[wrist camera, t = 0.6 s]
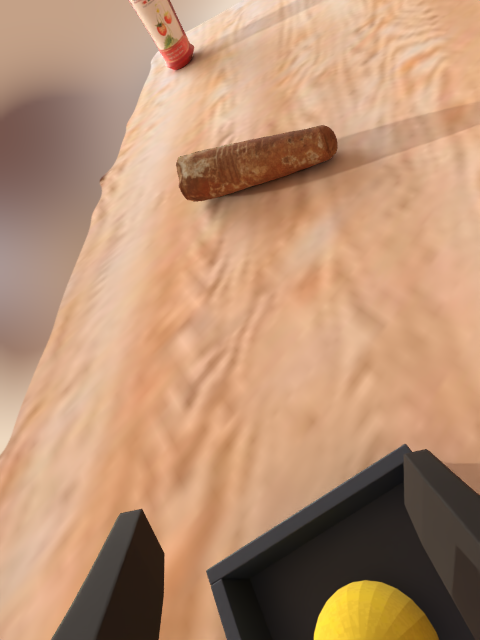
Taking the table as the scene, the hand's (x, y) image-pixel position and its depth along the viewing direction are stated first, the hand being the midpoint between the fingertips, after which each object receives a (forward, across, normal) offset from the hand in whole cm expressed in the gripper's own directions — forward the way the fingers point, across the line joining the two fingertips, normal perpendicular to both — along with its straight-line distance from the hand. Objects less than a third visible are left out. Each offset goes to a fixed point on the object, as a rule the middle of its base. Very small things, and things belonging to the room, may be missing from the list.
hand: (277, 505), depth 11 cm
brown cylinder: (+43, -6, -3) cm, 43 cm away
